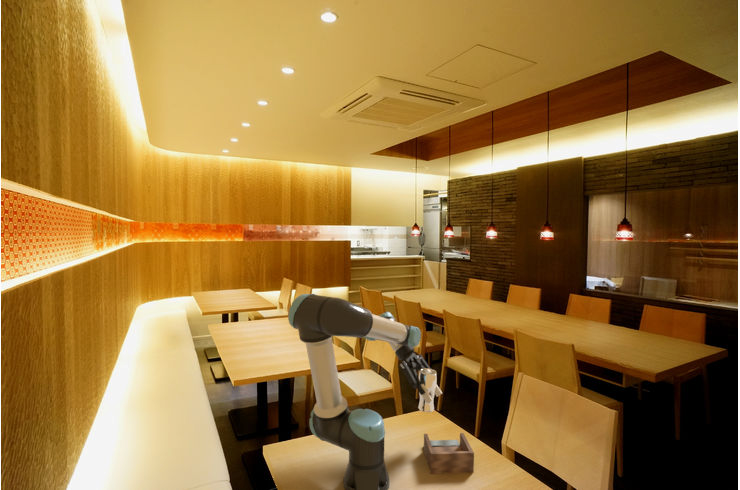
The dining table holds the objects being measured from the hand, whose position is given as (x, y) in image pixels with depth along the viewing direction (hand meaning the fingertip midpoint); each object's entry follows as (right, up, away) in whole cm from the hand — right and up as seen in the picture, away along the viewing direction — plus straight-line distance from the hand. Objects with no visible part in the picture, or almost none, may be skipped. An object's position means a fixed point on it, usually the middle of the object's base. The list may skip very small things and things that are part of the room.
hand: (434, 398), depth 153 cm
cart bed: (+3, -19, -7) cm, 21 cm away
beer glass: (-3, -5, +3) cm, 7 cm away
